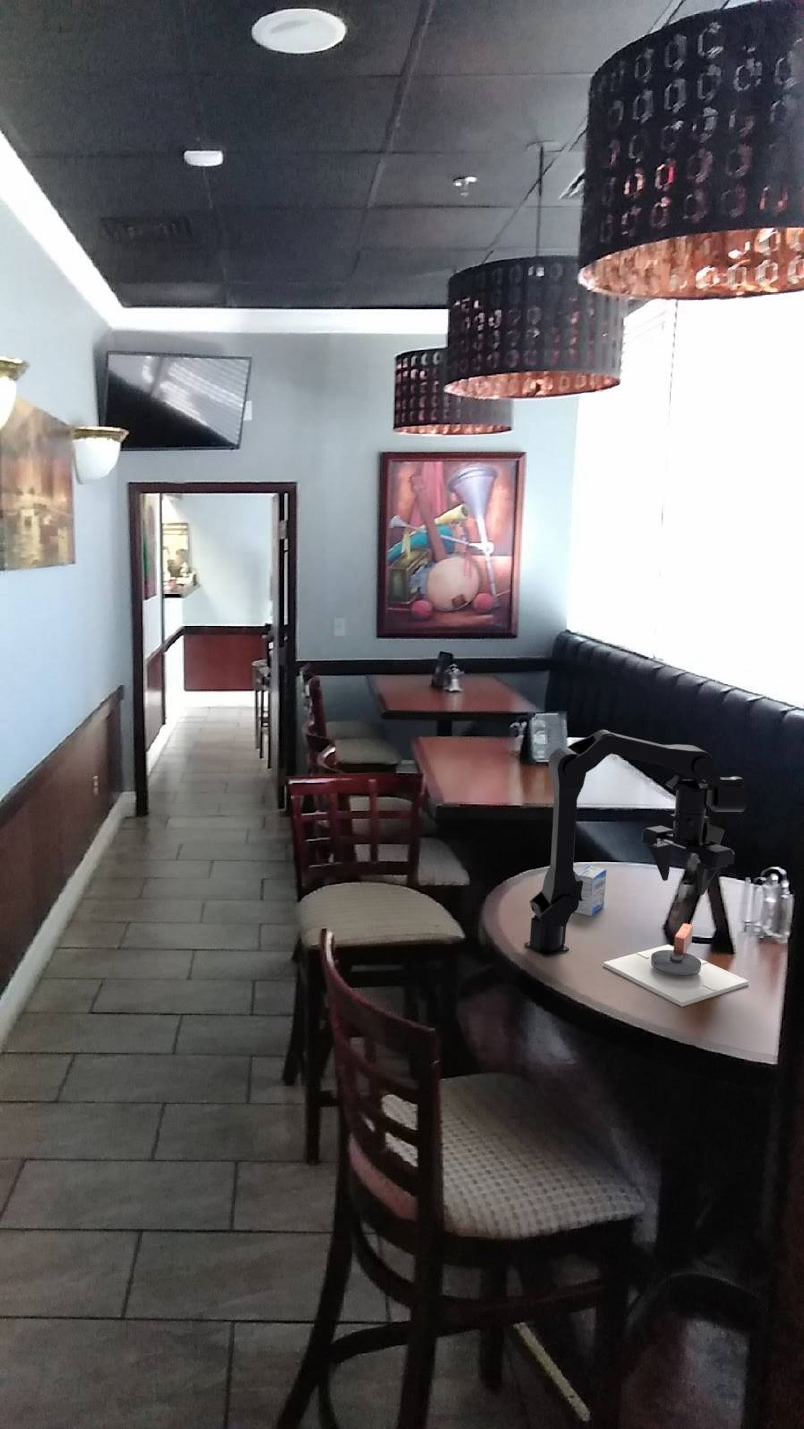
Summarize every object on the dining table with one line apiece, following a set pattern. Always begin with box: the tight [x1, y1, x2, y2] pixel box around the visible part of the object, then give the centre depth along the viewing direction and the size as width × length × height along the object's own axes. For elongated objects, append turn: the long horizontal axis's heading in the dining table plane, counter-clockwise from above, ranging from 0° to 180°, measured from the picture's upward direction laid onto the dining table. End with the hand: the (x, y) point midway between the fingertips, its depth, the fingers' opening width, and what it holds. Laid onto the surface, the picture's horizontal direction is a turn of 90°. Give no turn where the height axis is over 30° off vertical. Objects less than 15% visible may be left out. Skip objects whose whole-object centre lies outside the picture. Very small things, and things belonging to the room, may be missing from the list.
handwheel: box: [651, 923, 701, 976], centre depth 188 cm, size 9×14×5 cm, turn 153°
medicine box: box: [574, 865, 607, 917], centre depth 218 cm, size 8×4×9 cm, turn 148°
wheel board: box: [603, 944, 749, 1008], centre depth 186 cm, size 18×19×2 cm
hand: (683, 887), depth 197 cm, fingers open, 9 cm apart
